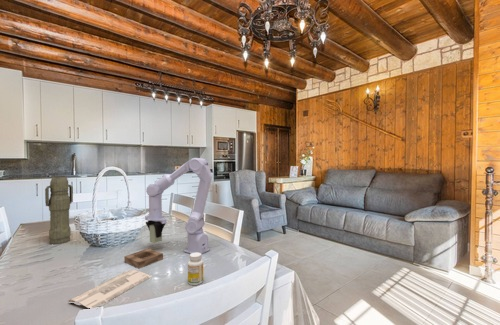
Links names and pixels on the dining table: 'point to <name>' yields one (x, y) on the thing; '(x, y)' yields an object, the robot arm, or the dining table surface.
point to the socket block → (143, 258)
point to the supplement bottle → (195, 269)
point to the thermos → (59, 209)
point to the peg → (154, 235)
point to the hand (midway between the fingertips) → (155, 236)
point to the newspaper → (111, 288)
